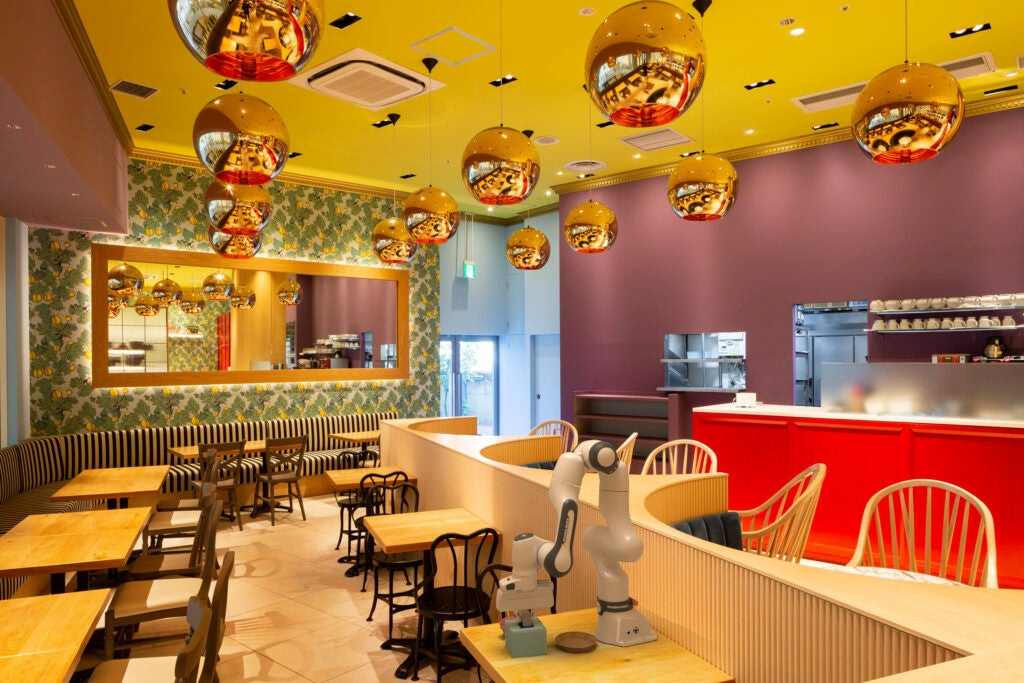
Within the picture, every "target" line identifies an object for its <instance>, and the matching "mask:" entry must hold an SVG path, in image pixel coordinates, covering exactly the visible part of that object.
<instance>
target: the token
mask: <svg viewBox="0 0 1024 683" xmlns="http://www.w3.org/2000/svg"><path fill="white" fill-rule="evenodd" d="M518 614H519V615H518V616H521V618H522V620H521V621H522V623H520V626H521V627H522V628H531V627H532V622H531V614H532V612H530V610H529V609H527V610H519V613H518Z"/></svg>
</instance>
